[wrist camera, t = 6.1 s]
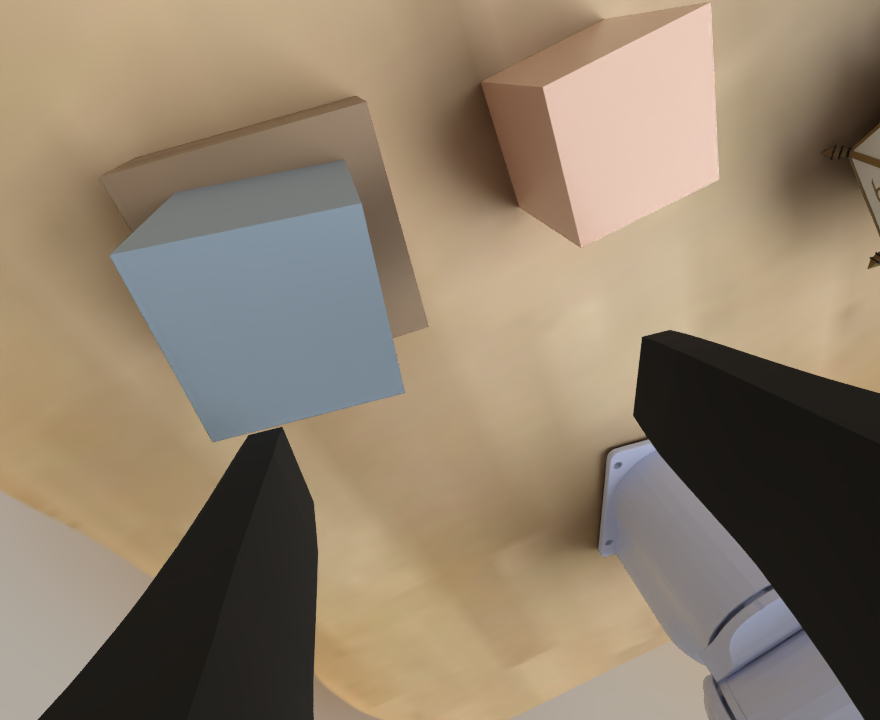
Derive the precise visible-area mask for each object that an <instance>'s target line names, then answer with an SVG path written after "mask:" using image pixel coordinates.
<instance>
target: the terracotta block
mask: <svg viewBox="0 0 880 720" xmlns="http://www.w3.org/2000/svg"><path fill="white" fill-rule="evenodd" d="M481 85H482V88H483V91H484V95H485V98H486V101H487V104H488V108H489V111H490V114H491V117H492V121H493V124H494V127H495V130H496V133H497V137H498V140H499V143H500V146H501V150H502V153H503V156H504V159H505V163H506V166H507V169H508V172H509V175H510V179H511V182H512V185H513V188H514V192H515V195H516V198H517V201H518V205H519V207H520V208H521V209H523V210H524V211H526V212H527V213H529V214H530V215H532V216H533V217H535V218H537V219H538V220H540V221H541V222H543V223H544V224H546V225H547V226H549V227H550V228H552V229H553V230H555V231H556V232H558V233H559V234H561V235H562V236H564V237H565V238H567V239H568V240H570V241H571V242H573V243H575V244H576V245H578V246H579V247H581V248H582V247H584V246H586V245H588V244H590V243H592V242H594V241H596V240H598V239H600V238H602V237H605V236H607V235H609V234H611V233H613V232H615V231H617V230H619V229H621V228H623V227H625V226H627V225H629V224H631V223H633V222H635V221H637V220H639V219H641V218H643V217H645V216H647V215H649V214H651V213H653V212H655V211H657V210H659V209H661V208H663V207H665V206H667V205H669V204H671V203H673V202H675V201H677V200H679V199H681V198H683V197H685V196H687V195H689V194H691V193H693V192H695V191H697V190H699V189H701V188H703V187H705V186H707V185H709V184H711V183H713V182H715V181H717V180H719V165H718V144H717V123H716V102H715V80H714V59H713V38H712V17H711V2H708V3H702V4H696V5H689V6H683V7H677V8H671V9H664V10H658V11H652V12H646V13H639V14H633V15H627V16H621V17H614V18H608V19H603V20H601V21H599V22H597V23H595V24H593V25H591V26H589V27H588V28H586V29H584V30H582V31H580V32H578V33H576V34H574V35H572V36H570V37H568V38H566V39H564V40H562V41H560V42H558V43H556V44H554V45H552V46H550V47H548V48H546V49H544V50H542V51H540V52H538V53H536V54H534V55H532V56H530V57H528V58H526V59H524V60H523V61H521V62H519V63H517V64H515V65H513V66H511V67H509V68H507V69H505V70H503V71H501V72H499V73H497V74H495V75H493V76H491V77H489V78H487V79H485V80H483V81H481Z"/></svg>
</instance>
